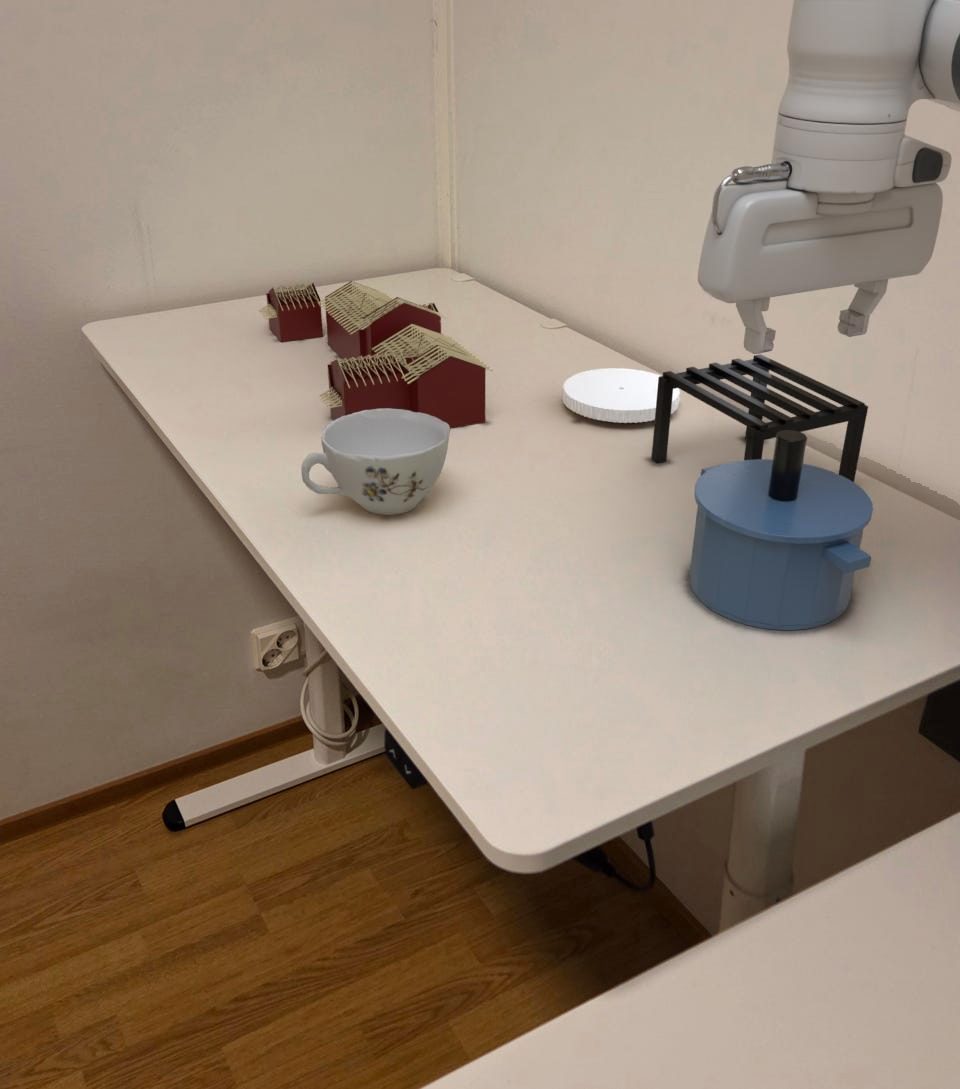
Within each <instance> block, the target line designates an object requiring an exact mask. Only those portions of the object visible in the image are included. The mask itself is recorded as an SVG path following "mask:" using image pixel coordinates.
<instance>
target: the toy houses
mask: <svg viewBox="0 0 960 1089" xmlns="http://www.w3.org/2000/svg"><path fill="white" fill-rule="evenodd" d="M265 295H266V305H265V306H263V307H262V308H260V309H258V312H259V313H260V314H261V315H262V317H263V318H264V319H265V320H266V321H267V320H268V326H269V330H270V331H271V332H272V333H273V335H274V336H275V337H276V338H277V339H278V341H279V342H280V343H285V342H293V341H300V340H308V339H309V340H310V339H317V338H323V337H324V330H323V316H322V309H324V310H325V320H326V336H327V337H326V338H327V345H328V346H329V347H330V348H331V349H332V350H333V351H334V353H335V354H336V355H337V356H338V357H339V358H340V360H339V359H338V358H337V359H334V360H332V361H330V362H328V363H327V379H328V389H327V390H326V391H324V392H322V393H321V394H319V395H318V398H319V399H320V400H321V401H322V403H324V405H326V407H327V408H328V410H330V417H331V419H332V421H334V420H336V419H338V418H340V417H342V416H346V415H350V414H353V413H357V412H360V411H364V410H373V409H385V408H389V409H402V410H409V411H412V412H415V413H418V412H420V413H424V414H428V415H430V416H434V417H436V418H438V419H440V420H441V421H443V422H446V423H447V424H448V425H449V427H450V428H451V429H453V428H458V427H464V426H470V425H475V424H482V423H486V371H490V372H493V371H494V369H492V368H490V366H487V364H486V363H484V362H483V361H481V359H480V358H478V357H476V355H474V354H473V353H472V352H470V351H469V350H468V349H467V348H465V347H464V346H462V344H460V343H459V342H458V341H456V340H455V339H453V337H452V336H449V335H445V334H443V333H442V319H444V320H447V317H446V316H445V315H443V314H442V313H441V312H440V311H439V310H438V307H437V306H436V304H435V302H429V303H424V304H420V303H419V304H417V303H415V302H412V301H409V300H407V299H403V298H401V297H399V296H398V297H397V296H396V297H395V298H392V297H390V295H388V294H387V293H385V292H382V291H379V290H377V289H375V288H371V287H369V286H367V285H364V284H361V283H359V282H355V281H353V280H350V281H349V282H347V283H346V284H344V285H342V286H340V287H339V288H337V289H336V290H334V291H332V292H330V293H329V294H327V295H326V296H324V298H323V299H321V297H320V295H319V293H318V291H317V289H316V286H315V284H314V282H310V283H308V284H307V285H306V283H301V284H296V285H295V286H294V285H292V284H291V285H290V286H289V285H288V286H287V285H284V286H283V287H282V285H281V286H278V287H277V288H276V289H275V287H274V286H272V287H271V288H270V289H269V290H268V292H265Z"/></svg>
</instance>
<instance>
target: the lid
mask: <svg viewBox="0 0 960 1089" xmlns="http://www.w3.org/2000/svg"><path fill="white" fill-rule="evenodd" d="M807 439H808V436H807V435H806V434H805V433H803V432H799V431H794V430H783V431H780V432H778V433H777V436H776V438H775V443H774V451H773V457H772V459H768V458H766V459H765V458H764V459H763V458H762V459H756V460H744V459H743V460H736V461H731V462H726V463H723V465H721V464H718V465H719V466H717V465H716V466H717V467H714V468H712V469H710V470H708V471H707V472H705V473H704V474H702V475H701V474H700V476H699V477H698V478H697V480H696V482H695V484H694V492H693V497H694V501H695V503H696V505H697V506H698V507H699V508H700V510H701V511H702V512H703V513H704V514H705V515H707V516H708V517H709V518H710V519H712V520H713V521H715V522H717V523H718V524H720V525H722V526H724V527H726V528H728V529H731V530H733V531H736V532H738V533H741V534H744V535H748V536H751V537H755V538H759V539H764V540H769V541H775V542H783V543H797V544H812V543H824V542H831V541H836V540H841V539H844V538H847V537H850V536H852V535H854V534H857V533H858V532H860V531H861V530H863V531H864V529H865V528H866V527H867V526H868V525H869V523H870V522H871V520H872V516H873V512H874V506H873V501H872V499H871V497H870V496H869V494H868V493H867V492H866V491H865V490H864V489H863V488H862V487H861V486H860V485H858V484H857V483H855V481H854V482H852V481H851V480H849V479H847V478H845V477H843V476H841V475H839V473H836V472H834V471H832V470H828V469H825V468H823V467H819V466H815V465H812V464H807V463H804V458H805V452H806V445H807Z"/></svg>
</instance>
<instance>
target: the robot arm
mask: <svg viewBox="0 0 960 1089" xmlns="http://www.w3.org/2000/svg"><path fill="white" fill-rule="evenodd" d="M792 3H793V4H792V8H791V9H792V10H791V16H790V21H789V28H788V34H787V43H786V51H787V52H786V53H787V59H788V78H787V82H786V87H785V89H784V92H783V95H782V97H781V99H780V102H779V106H778V108H777V118H776V124H775V131H774V140H773V149H772V155H771V163H768V164H763V165H760V166H750V165H749V166H747V165H746V166H740V167H737V168H734V169H733V170H732V172H731V174H730V175H728V176H727V177H725V178H724V179H723V180H722V181H721V183H720V184H719V185H717V186H716V188H715V190H714V193H713V196H712V206H711V212H710V216H709V218H708V222H707V227H706V231H705V234H704V239H703V243H702V248H701V252H700V257H699V264H698V270H697V282H698V284H699V286H700V288H701V290H702V291H703V293H704V294H705V295H707V296H710V297H712V298H714V299H715V300H718V301H721V302H722V303H727V304H735V307H736V310H737V313H738V315H739V317H740V319H741V321H742V324H743V327H745V328H744V329H745V330H744V338H743V349H745V351H747V352H749V353H751V354H753V355H760V354H763V353H768V352H772V351H773V349H774V345H775V344H774V341H775V339H776V331H777V330H776V329H774V328H771V327H767V325H766V321H765V318H764V314H763V312H768V310H769V308H770V303H771V302H770V300H771V298H775V297H782V296H787V295H788V296H789V295H795V294H802V293H807V292H814V291H820V290H826V289H833V288H839V287H845V286H852V285H853V286H854V287H855V288H857V290H856V292H855V294H854V296H853V298H852V300H851V302H850V304H849V306H848V308H847V309H842V310H840V311H839V316H838V319H839V322H838V324H837V332H838V333H839V334H841V335H843V336H846V337H848V338H852V337H857V336H864V335H866V334H867V332H868V328H869V323H870V322H869V321H870V317H871V315H872V314H873V312H874V311H875V309H876V308H877V307H878V305H879V303H880V302H881V300H882V299H883V297H884V296H885V295H886V293H887V289H888V283H889V280H890V279H891V280H892V279H898V278H903V277H910V276H917V275H919V274H920V273H922V272H923V271H924V269H925V268H926V267H927V265H928V264H929V263H930V261H931V259H932V257H933V254H934V251H935V247H936V242H937V237H938V233H939V230H940V223H941V217H942V211H943V203H944V201H943V200H944V196H943V191H942V187H941V186H940V185H939V184H938V183H941V182H943V181H945V180H946V179H947V178H948V176H949V173H950V171H951V166H952V161H953V160H952V159H953V158H952V154H951V153H950V152H949V151H947V150H946V149H942V148H941V147H937V146H935V145H933V144H929V143H927V142H924V141H922V140H920V139H917V138H914V137H912V136H909V135H906V126H907V121H908V116H909V112H910V108H911V107H912V105H913V104H915V102H917V101H919V100H928V101H930V102H933V103H936V104H939V105H942V106H944V107H946V108H948V109H950V110H952V111H956V112H959V113H960V0H793V2H792ZM731 182H733V183H731Z"/></svg>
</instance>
